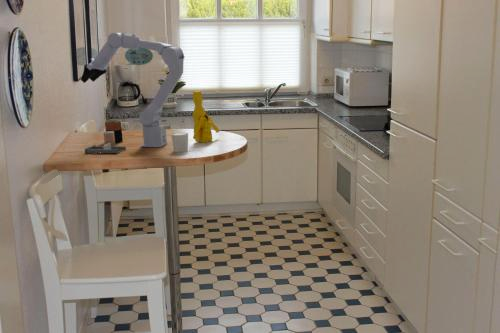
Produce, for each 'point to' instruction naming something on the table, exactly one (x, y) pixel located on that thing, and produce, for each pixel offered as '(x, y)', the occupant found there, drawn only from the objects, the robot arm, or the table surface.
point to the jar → (109, 138)
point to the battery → (115, 129)
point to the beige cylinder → (180, 142)
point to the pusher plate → (107, 146)
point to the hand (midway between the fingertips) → (87, 80)
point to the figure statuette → (202, 121)
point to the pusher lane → (100, 149)
